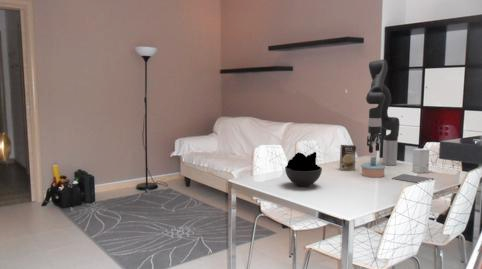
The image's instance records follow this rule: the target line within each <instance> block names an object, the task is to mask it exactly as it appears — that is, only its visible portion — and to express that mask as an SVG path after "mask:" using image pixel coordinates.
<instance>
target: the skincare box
mask: <svg viewBox="0 0 482 269" xmlns="http://www.w3.org/2000/svg"><path fill="white" fill-rule="evenodd" d="M412 150H413V151H412V166H411V167H412V168H411V169H412V172H414V173H417V174H423V173H429V165H430V163H429V162H430V149H429V148H413V149H412Z"/></svg>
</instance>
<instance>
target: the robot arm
mask: <svg viewBox="0 0 482 269" xmlns="http://www.w3.org/2000/svg"><path fill="white" fill-rule="evenodd" d="M368 68H369V73H370V77H371V80H372V81H371V84H370V90H369V91H368V92H367V94H366V97H365V98H366V99H365V101H366V102H367V104H369V105H377V106H376V107H371V108H369V109H368V123H367V124H368V127H367V133H368V134H369V135H367V137H366V146H368V152H369V153H370V154H372V153H373V152H374V145H375V152H379V151H380V147H381V146H380V145H381V144H382V136H383V135H382V129H383V130H385V131H390V132H389V134H385V135H384V136H383V144H382V165H384V166H397V164H398V163H397V161H398V160H397V159H398V141H399V140H398V139H399V135H400V134H399V133H400V119H399V118H398V117H396V116H389V115H388V110H389V108H390V105H391V104H392V95H391V91H390V89H389V88H388V87H387V86H386V84H384V82H385V79H386V76H387V74H388V68H389V67H388V62H387V60H386V59H378V60H373V61H370V62H369V63H368Z"/></svg>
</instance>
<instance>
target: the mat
mask: <svg viewBox="0 0 482 269" xmlns="http://www.w3.org/2000/svg"><path fill="white" fill-rule="evenodd" d="M394 179H395V180H396V181H401V182H407V183H413V184H418V183H417V182H421V181H425V180H429V179H434V178H433V177H426V176H419V175H413V174H408V173H402V174H399V175H397V176H394V177H391V180H394Z"/></svg>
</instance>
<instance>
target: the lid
mask: <svg viewBox="0 0 482 269" xmlns="http://www.w3.org/2000/svg"><path fill="white" fill-rule="evenodd" d="M360 167H361V169H362V168H366V169H376V170H378V169H384V170H385V169H386V165H384V164H381V163H377V157H375V156H370V162H369V163H362V164H361V165H360Z"/></svg>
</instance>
